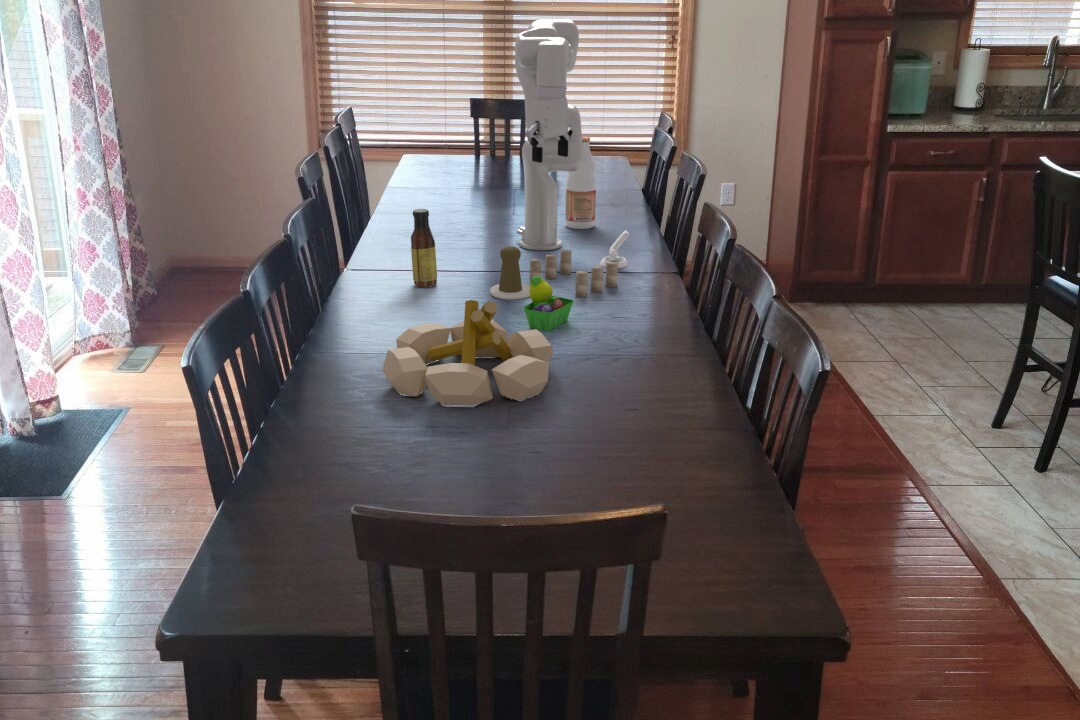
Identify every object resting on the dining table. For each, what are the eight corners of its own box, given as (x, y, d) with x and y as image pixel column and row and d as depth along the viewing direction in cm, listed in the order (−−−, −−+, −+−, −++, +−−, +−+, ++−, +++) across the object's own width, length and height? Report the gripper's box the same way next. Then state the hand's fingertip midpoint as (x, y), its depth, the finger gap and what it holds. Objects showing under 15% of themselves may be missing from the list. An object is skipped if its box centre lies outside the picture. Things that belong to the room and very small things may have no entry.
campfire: (550, 415, 199) (551, 331, 192) (372, 411, 200) (367, 326, 194) (555, 350, 231) (556, 275, 225) (402, 346, 232) (399, 272, 226)
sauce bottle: (441, 283, 275) (439, 209, 268) (429, 290, 270) (427, 214, 262) (420, 280, 277) (417, 206, 270) (407, 286, 272) (405, 211, 265)
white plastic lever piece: (646, 250, 288) (627, 238, 285) (619, 282, 292) (600, 270, 290) (642, 238, 294) (623, 225, 291) (615, 269, 299) (596, 257, 296)
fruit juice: (559, 225, 333) (560, 137, 323) (579, 221, 339) (581, 133, 329) (580, 231, 327) (582, 141, 317) (600, 226, 333) (603, 137, 323)
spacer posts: (527, 282, 277) (527, 260, 274) (565, 270, 287) (565, 249, 285) (582, 298, 265) (582, 275, 262) (619, 285, 275) (620, 263, 273)
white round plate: (481, 293, 268) (481, 288, 267) (511, 284, 275) (511, 279, 275) (512, 302, 261) (512, 298, 260) (542, 293, 268) (542, 288, 268)
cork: (525, 287, 269) (525, 245, 265) (517, 293, 264) (517, 251, 260) (503, 284, 271) (503, 243, 267) (495, 291, 265) (494, 249, 261)
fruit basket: (549, 334, 240) (550, 287, 236) (517, 327, 244) (517, 280, 240) (574, 320, 249) (575, 274, 245) (543, 313, 253) (543, 268, 249)
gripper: (563, 86, 275) (562, 151, 282) (516, 94, 264) (516, 161, 270) (584, 90, 270) (582, 156, 277) (538, 97, 259) (537, 166, 266)
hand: (550, 158), depth 274 cm, fingers open, 9 cm apart
